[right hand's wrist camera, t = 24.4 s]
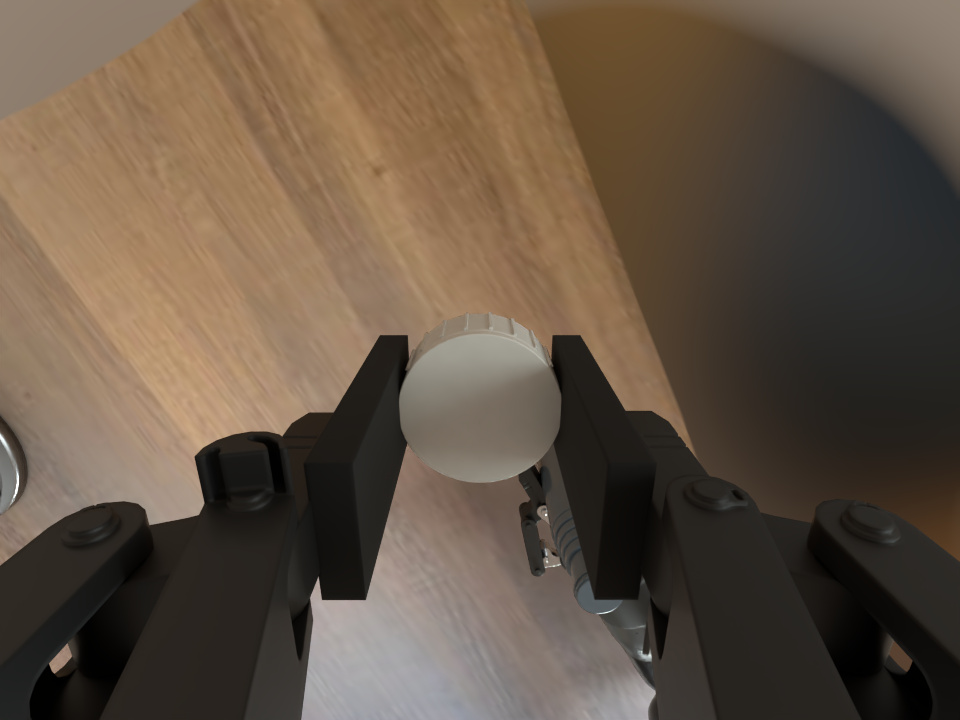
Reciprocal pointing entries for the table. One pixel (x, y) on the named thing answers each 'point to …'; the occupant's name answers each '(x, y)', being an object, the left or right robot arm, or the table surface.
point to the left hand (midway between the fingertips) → (550, 448)
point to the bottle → (568, 535)
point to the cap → (480, 399)
